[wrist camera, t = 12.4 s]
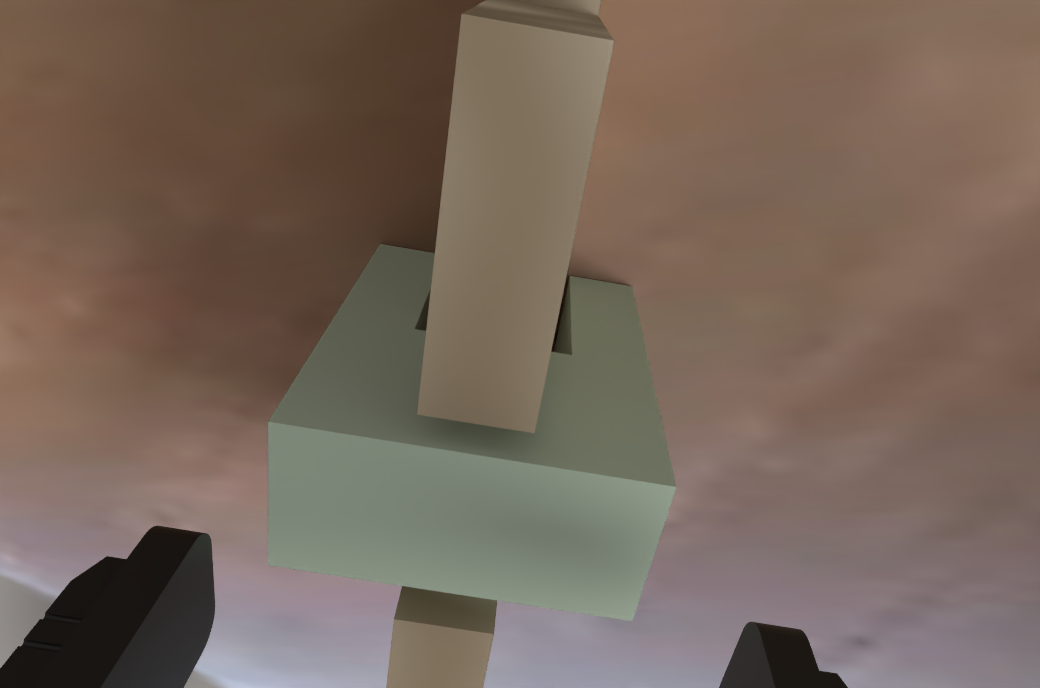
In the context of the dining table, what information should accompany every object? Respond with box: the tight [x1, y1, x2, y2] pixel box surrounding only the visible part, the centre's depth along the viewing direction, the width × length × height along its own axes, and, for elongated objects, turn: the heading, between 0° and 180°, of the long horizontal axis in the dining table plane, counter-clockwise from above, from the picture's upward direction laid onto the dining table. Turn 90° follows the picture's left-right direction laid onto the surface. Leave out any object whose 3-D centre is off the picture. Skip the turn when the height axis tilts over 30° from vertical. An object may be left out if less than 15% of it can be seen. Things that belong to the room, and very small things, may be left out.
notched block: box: [268, 244, 676, 621], centre depth 16 cm, size 6×3×8 cm, turn 81°
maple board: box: [386, 0, 614, 688], centre depth 13 cm, size 2×20×8 cm, turn 171°
